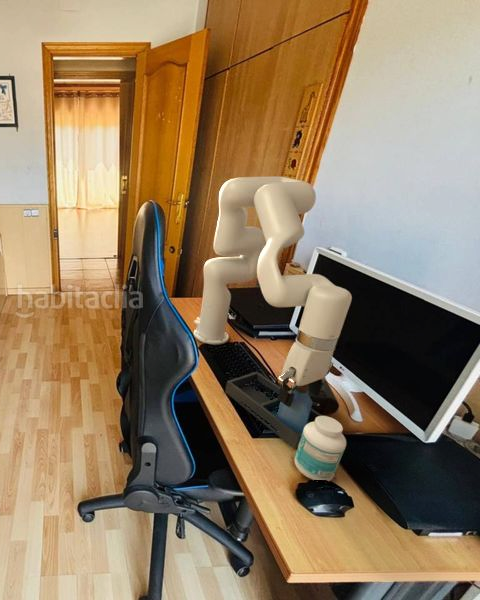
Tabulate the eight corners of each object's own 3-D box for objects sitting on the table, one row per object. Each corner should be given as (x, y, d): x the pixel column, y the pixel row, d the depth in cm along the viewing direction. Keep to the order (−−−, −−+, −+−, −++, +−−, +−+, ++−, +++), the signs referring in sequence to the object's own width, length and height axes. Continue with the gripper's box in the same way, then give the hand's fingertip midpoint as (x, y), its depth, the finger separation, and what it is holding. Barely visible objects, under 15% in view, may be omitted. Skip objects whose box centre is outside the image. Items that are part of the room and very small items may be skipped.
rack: (225, 392, 97) (227, 381, 96) (254, 382, 101) (256, 371, 100) (294, 449, 78) (298, 436, 77) (327, 434, 82) (332, 422, 80)
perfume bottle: (306, 421, 85) (318, 384, 80) (302, 435, 81) (314, 397, 76) (279, 410, 89) (289, 374, 84) (274, 424, 85) (284, 386, 80)
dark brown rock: (335, 419, 86) (342, 399, 84) (304, 413, 89) (310, 394, 86) (323, 395, 95) (329, 376, 92) (295, 390, 97) (300, 371, 94)
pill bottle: (305, 450, 78) (321, 406, 72) (340, 474, 72) (359, 428, 66) (286, 463, 75) (300, 418, 69) (320, 490, 69) (338, 443, 63)
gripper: (325, 323, 80) (308, 380, 87) (274, 338, 75) (259, 397, 82) (359, 338, 74) (337, 397, 81) (305, 355, 68) (286, 417, 76)
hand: (298, 397), depth 81 cm, fingers open, 9 cm apart
